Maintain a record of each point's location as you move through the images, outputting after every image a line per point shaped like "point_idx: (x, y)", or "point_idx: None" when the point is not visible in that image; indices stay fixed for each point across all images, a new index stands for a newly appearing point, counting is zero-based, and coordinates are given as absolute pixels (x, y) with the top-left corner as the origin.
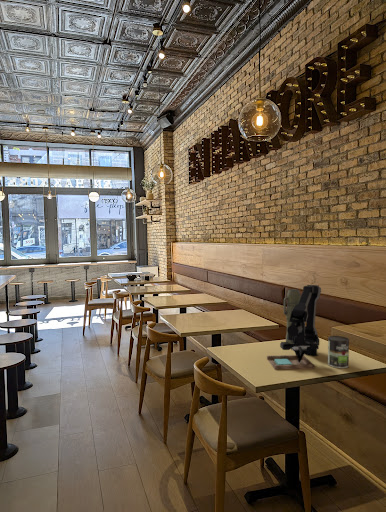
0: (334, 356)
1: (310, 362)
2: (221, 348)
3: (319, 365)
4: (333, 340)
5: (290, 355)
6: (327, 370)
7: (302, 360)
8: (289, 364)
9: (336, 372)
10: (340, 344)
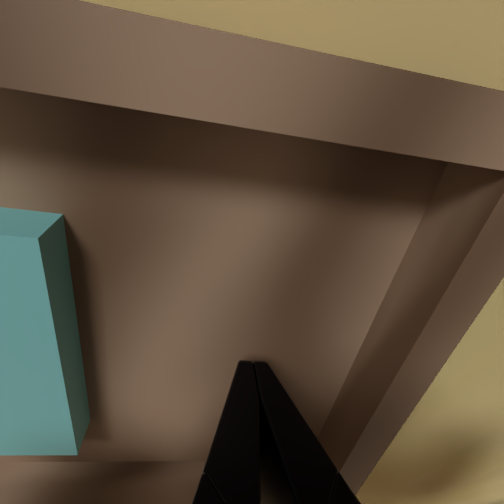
0: None
1: (355, 476)
2: None
3: (475, 382)
4: None
5: (192, 56)
6: (423, 473)
7: (395, 239)
8: (35, 447)
9: (450, 498)
10: None
